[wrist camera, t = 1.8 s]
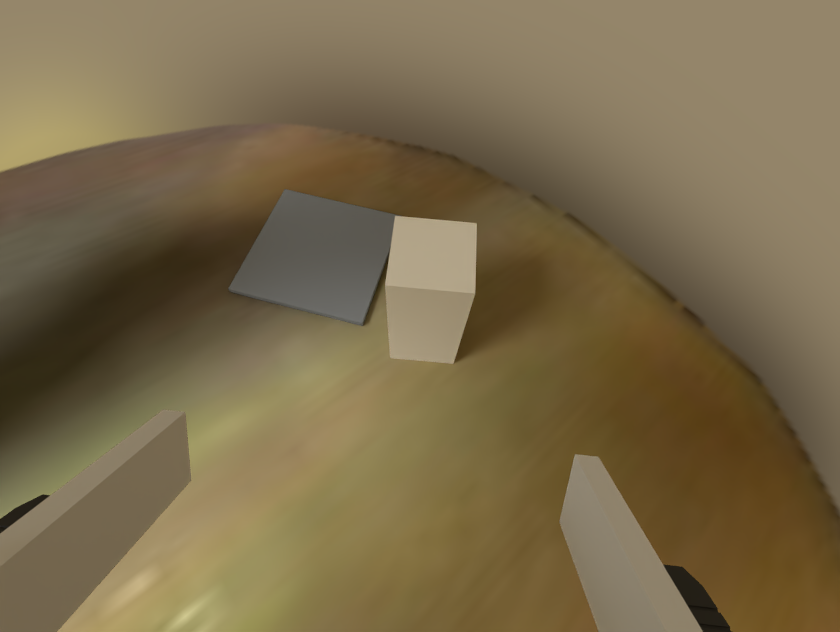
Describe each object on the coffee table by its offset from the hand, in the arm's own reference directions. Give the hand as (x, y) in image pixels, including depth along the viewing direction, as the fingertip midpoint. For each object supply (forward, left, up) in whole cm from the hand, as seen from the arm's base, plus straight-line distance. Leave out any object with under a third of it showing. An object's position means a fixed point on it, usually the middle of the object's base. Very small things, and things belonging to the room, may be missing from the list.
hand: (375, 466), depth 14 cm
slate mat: (-14, +21, -21) cm, 33 cm away
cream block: (-1, +15, -21) cm, 26 cm away
